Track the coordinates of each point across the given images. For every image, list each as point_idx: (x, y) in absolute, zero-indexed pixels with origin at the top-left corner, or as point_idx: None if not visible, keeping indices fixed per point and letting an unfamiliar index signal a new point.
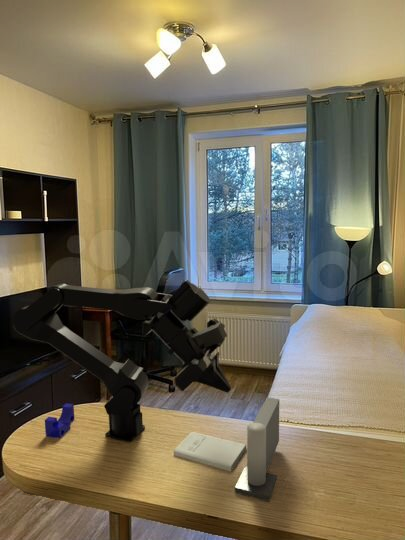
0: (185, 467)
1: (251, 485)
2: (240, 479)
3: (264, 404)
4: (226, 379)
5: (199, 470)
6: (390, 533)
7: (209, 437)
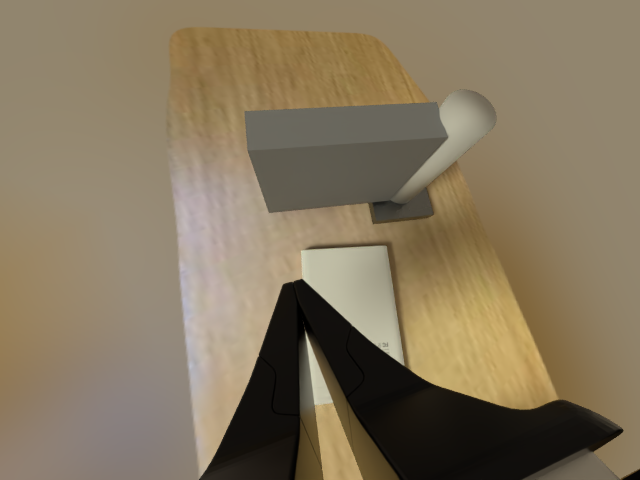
0: (423, 334)
1: None
2: (411, 214)
3: (307, 142)
4: (278, 316)
5: (415, 302)
6: (380, 41)
7: None
